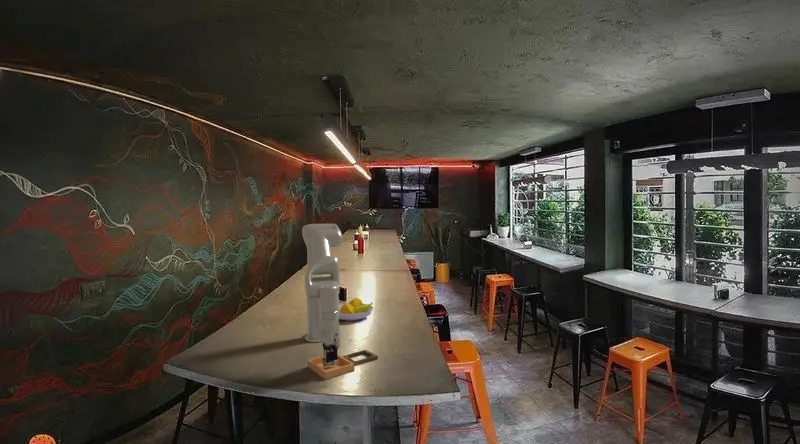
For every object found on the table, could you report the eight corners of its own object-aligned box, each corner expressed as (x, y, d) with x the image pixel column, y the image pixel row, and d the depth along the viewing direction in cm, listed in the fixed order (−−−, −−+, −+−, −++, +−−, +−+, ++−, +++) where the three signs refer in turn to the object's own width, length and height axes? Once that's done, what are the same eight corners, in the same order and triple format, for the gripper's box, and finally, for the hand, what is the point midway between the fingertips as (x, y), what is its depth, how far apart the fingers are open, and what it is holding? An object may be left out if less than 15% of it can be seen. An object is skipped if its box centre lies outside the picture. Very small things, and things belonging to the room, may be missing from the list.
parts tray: (308, 367, 164) (307, 360, 164) (335, 359, 172) (335, 352, 172) (325, 380, 152) (325, 372, 152) (354, 371, 160) (354, 363, 160)
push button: (336, 361, 166) (337, 338, 165) (339, 366, 161) (339, 343, 160) (321, 362, 164) (321, 340, 163) (323, 368, 159) (323, 345, 158)
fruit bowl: (321, 318, 238) (320, 299, 238) (357, 309, 256) (357, 292, 256) (346, 328, 217) (346, 308, 217) (384, 318, 235) (384, 299, 235)
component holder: (342, 359, 172) (342, 356, 172) (365, 352, 180) (365, 349, 180) (354, 366, 165) (354, 362, 164) (377, 359, 172) (377, 355, 172)
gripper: (312, 312, 166) (313, 354, 166) (331, 321, 152) (332, 367, 153) (328, 309, 170) (329, 350, 171) (348, 317, 157) (348, 362, 158)
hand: (330, 357), depth 162 cm, fingers open, 4 cm apart
